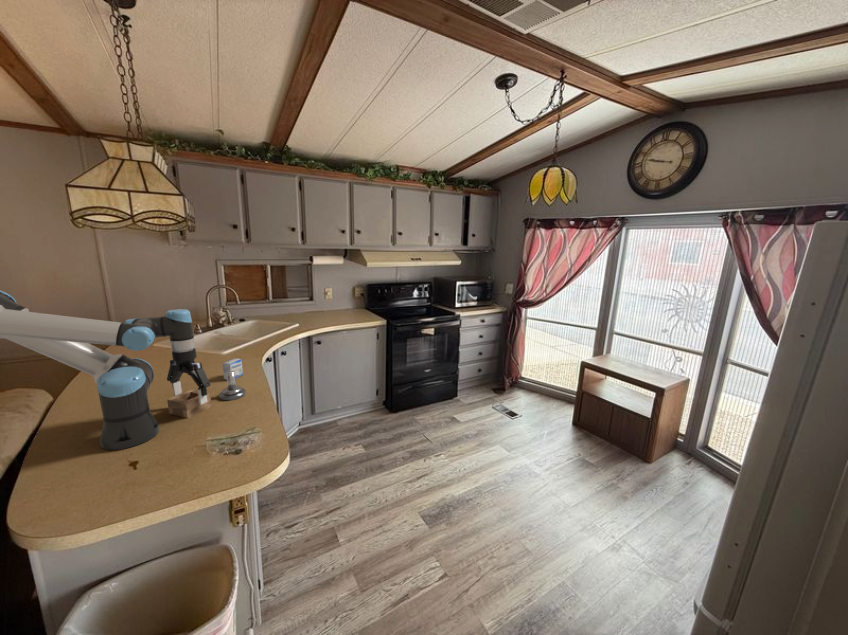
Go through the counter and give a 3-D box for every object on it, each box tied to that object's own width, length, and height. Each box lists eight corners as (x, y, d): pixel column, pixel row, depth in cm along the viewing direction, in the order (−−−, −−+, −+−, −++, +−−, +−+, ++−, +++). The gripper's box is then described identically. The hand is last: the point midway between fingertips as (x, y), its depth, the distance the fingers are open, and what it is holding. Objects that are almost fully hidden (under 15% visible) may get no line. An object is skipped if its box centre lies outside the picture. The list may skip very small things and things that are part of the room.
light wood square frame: (187, 418, 126) (186, 403, 125) (169, 413, 129) (167, 399, 128) (211, 406, 136) (210, 393, 135) (193, 402, 139) (192, 389, 138)
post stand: (231, 402, 140) (229, 377, 138) (213, 398, 143) (211, 374, 141) (250, 392, 149) (248, 369, 147) (233, 389, 152) (231, 366, 150)
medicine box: (231, 380, 162) (230, 363, 160) (223, 379, 163) (222, 363, 161) (243, 374, 170) (241, 358, 168) (235, 374, 171) (234, 358, 169)
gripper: (216, 350, 127) (223, 401, 132) (170, 343, 135) (177, 391, 139) (198, 356, 120) (205, 409, 125) (150, 348, 128) (159, 399, 132)
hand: (191, 400), depth 132 cm, fingers open, 13 cm apart
